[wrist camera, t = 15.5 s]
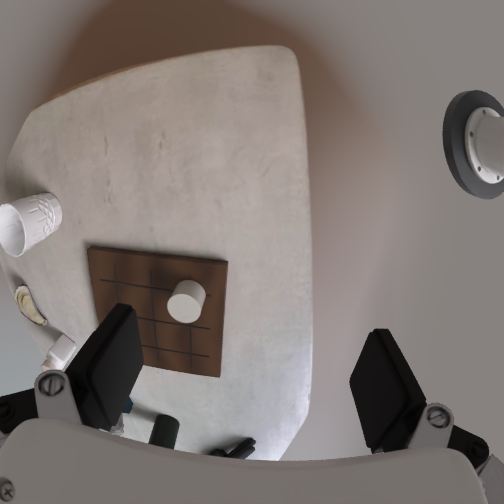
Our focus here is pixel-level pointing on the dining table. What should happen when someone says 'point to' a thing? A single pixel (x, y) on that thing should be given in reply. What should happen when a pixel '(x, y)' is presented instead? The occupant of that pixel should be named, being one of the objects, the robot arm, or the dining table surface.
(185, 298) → the white cylinder
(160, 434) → the wine bottle
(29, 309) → the oyster shell
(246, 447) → the can opener
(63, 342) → the pepper shaker
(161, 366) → the board
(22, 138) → the dining table surface
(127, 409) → the watch
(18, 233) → the white cup
